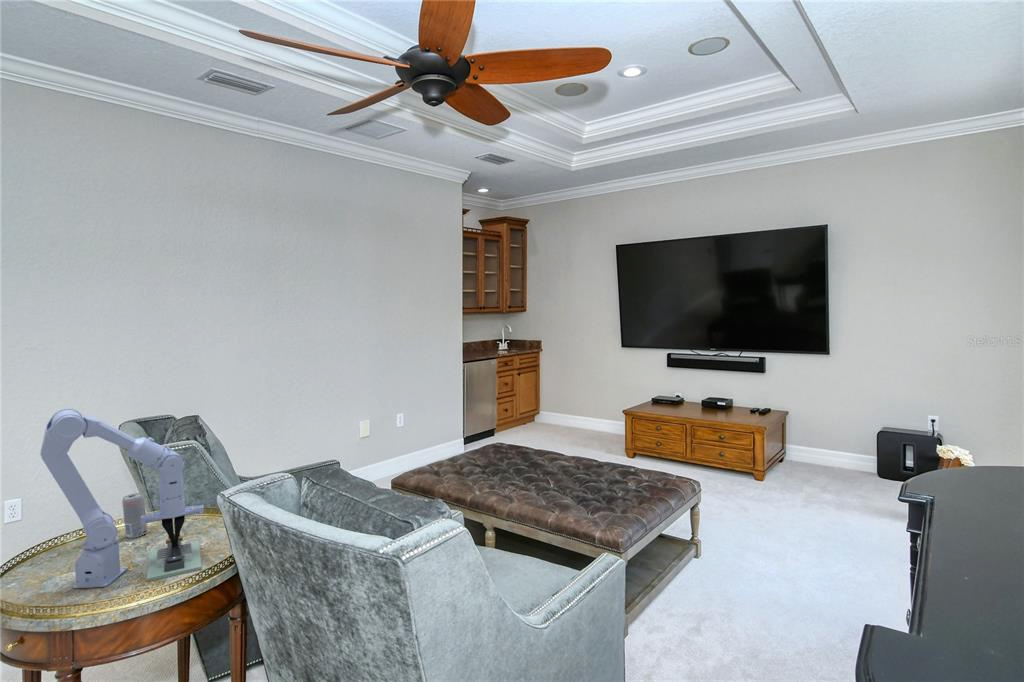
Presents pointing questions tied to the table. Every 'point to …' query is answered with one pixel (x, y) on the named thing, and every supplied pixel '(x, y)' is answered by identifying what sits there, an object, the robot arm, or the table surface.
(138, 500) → the energy drink
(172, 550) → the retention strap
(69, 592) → the table surface
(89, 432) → the robot arm
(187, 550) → the heat sink
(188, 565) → the socket board
